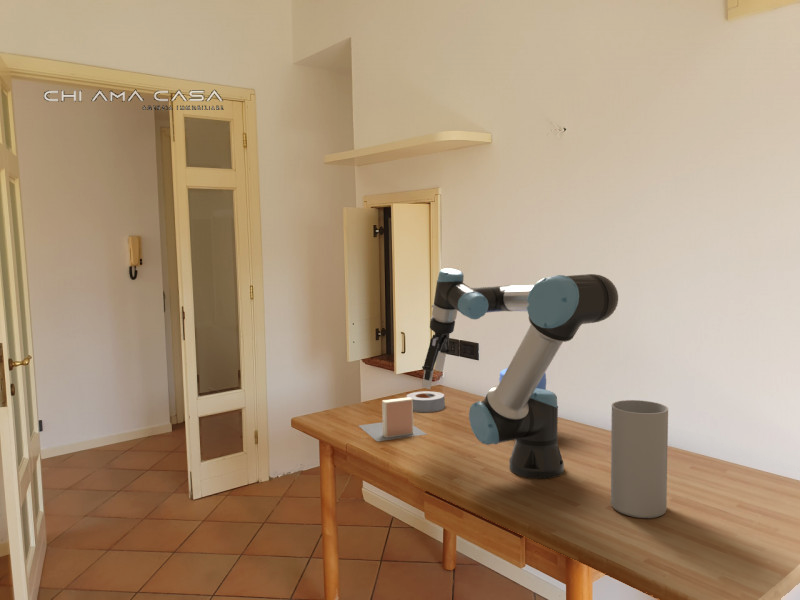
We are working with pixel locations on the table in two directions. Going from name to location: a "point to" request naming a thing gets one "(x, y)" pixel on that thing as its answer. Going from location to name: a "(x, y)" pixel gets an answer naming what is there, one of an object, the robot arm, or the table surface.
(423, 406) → the tape roll
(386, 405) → the wooden plaque
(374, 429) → the rubber mat
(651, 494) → the cylinder vase
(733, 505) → the table surface
